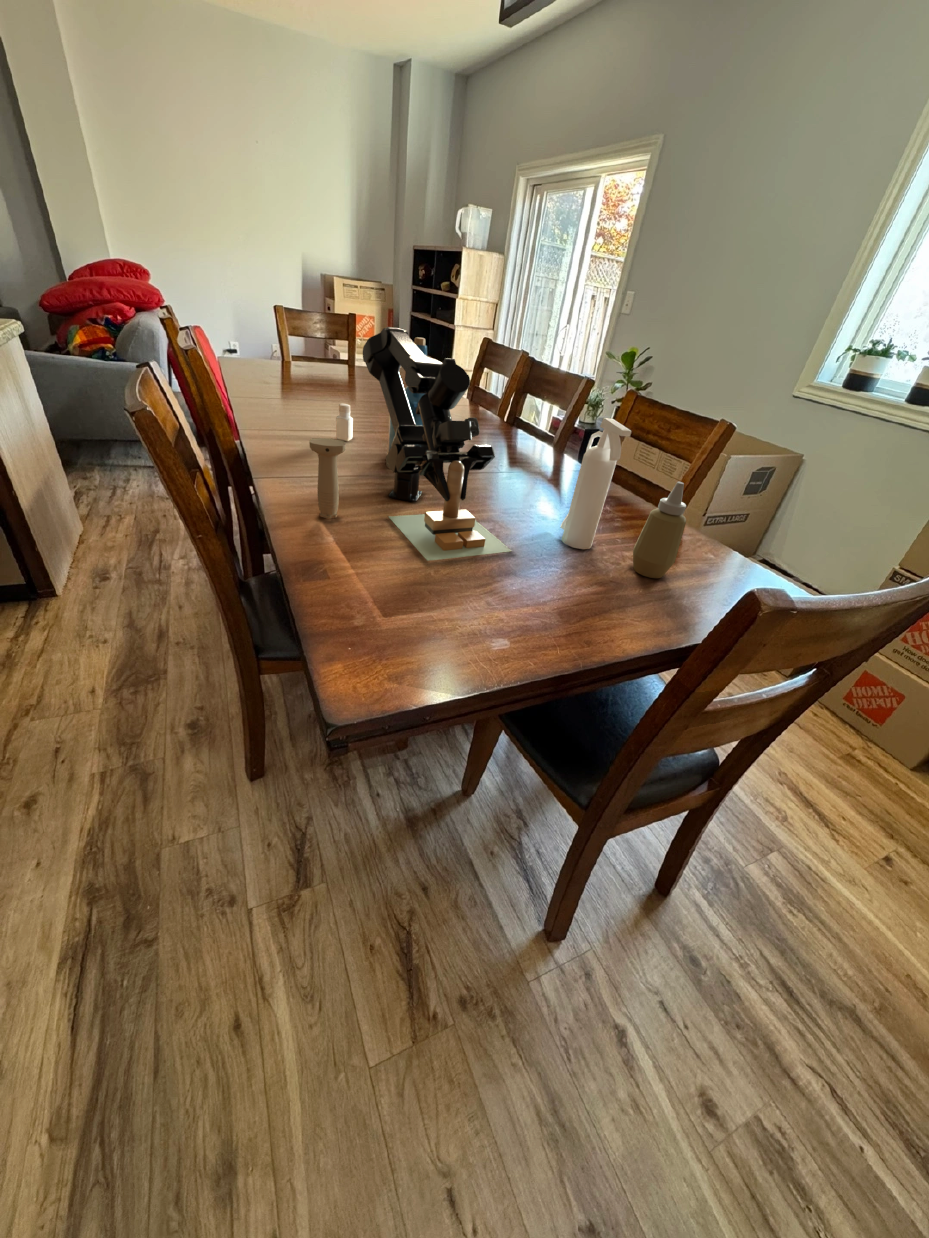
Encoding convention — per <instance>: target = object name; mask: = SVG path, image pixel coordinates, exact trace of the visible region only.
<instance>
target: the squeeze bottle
mask: <svg viewBox="0 0 929 1238" xmlns="http://www.w3.org/2000/svg"><path fill="white" fill-rule="evenodd" d="M684 487H685V483H684V482H683V481H676V483H675V485H674V486H673V488H672V489H671V492H670V493H669V494H668V496H667V497H662V498H660V500H659V503H658V506H657V508H654V509H652V510H651V511H650V513H649V514H648V517H647V519H646V521H645V523H644V525H643V528H642V529H641V531H640V534H639V536H638V538H637V540H636V542H635V545H634V547H633V549H632V565H633V566H632V568H633V571H634V572H636V573H637V574H639V575H641V576H643V577H647V578H650V579H661V578H663V577H664V576H665V575H666V573H668V571H669V570H670V569H671V567H673V565H674V564H675V563H676V559H677V556H678V552H679V549H680V545H681V542H682V539H683V535H684V531H685V527H686V523H687V518H686V517H685V515H684V514H685V511H686V509H687V504H686V503H685V502H684V501H683V494H684Z"/></svg>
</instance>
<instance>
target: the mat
mask: <svg viewBox="0 0 929 1238" xmlns="http://www.w3.org/2000/svg"><path fill="white" fill-rule="evenodd" d="M424 516H425V513H419V514H405V515H404V514H403V515H388V516H387V518H388V519H389V520H390V521H391V523H393V524H394V525H395V526H396V528H397V529H398V530H399V531H400V532H401V533H402V534H403V536H405V537H406V539H407V540H408V542H410V543H411V545H412V546H413V547H414V548H415V549H416V550H417V551H418V553H420V555H422V557H423V558H424V559H425V560H426V561H428V562H429V561H431V562H432V561H439V560H448V559H449V560H450V559H456V558H457V559H459V558H466V557H476V556H484V555H493V554H503V553H511V552H513V550H511V549H510V548H509V547H508V546H507V545H506V544H504V543H503V541H501V540H500V539H498V537H497V536H495V535H494V534H493V533H491V532H490V531H489V530H488V529H486V528H485V527H484V526H483V525H482V524H480V523H479V522H478V521H477V520H476V519H475V525H474V527H473V529H472V531H477V532H478V533H479V534H480V535H481V536H483V537H484V538H485V545H484V547H474V548H465V547H464V546H463V548H462V549H455V550H445V551H443V550H442V549H441V548H440V547H439V545H438V544H437V543H436V542H435V535H433V534H432V533H431V532H430V531H429V530H428V529H427V528H426V527H425V522H424ZM455 534H456V535H457V536H458V533H455Z"/></svg>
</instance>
